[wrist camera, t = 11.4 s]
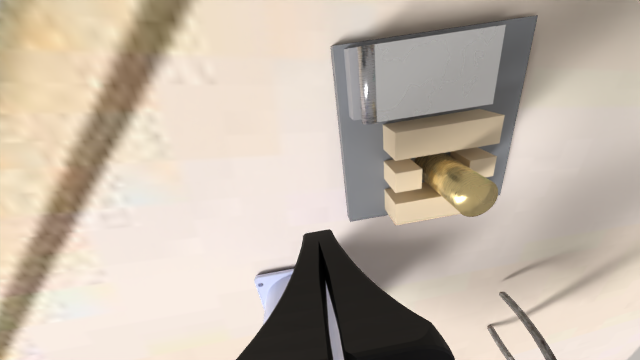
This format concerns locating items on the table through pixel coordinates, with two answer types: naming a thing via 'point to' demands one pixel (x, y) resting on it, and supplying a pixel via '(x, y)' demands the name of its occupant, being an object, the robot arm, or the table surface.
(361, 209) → the board
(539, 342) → the pliers
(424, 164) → the pin
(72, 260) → the table surface
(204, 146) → the table surface
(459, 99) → the grey flat plate
